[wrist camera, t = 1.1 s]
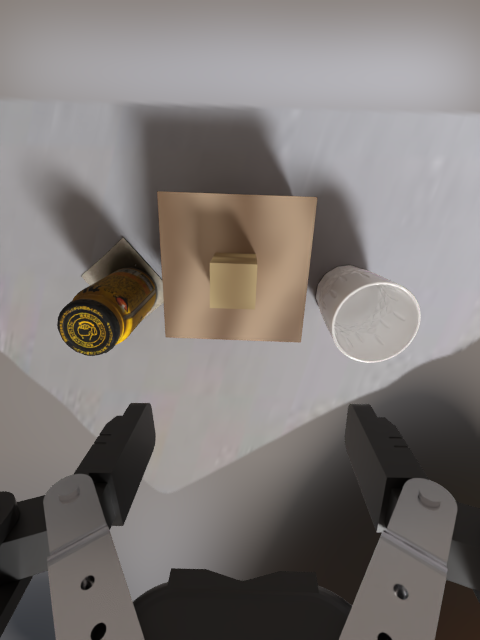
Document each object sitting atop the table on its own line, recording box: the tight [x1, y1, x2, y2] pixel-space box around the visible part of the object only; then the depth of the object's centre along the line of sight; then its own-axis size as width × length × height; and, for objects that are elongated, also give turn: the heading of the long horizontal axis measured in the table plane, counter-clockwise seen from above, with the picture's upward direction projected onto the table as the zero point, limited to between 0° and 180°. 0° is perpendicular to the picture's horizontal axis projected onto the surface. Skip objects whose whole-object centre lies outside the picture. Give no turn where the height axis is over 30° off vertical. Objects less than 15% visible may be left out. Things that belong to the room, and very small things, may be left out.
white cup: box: [316, 265, 421, 363], centre depth 33 cm, size 8×8×10 cm
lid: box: [157, 191, 317, 342], centre depth 27 cm, size 13×13×6 cm
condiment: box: [57, 238, 164, 356], centre depth 32 cm, size 7×8×12 cm
